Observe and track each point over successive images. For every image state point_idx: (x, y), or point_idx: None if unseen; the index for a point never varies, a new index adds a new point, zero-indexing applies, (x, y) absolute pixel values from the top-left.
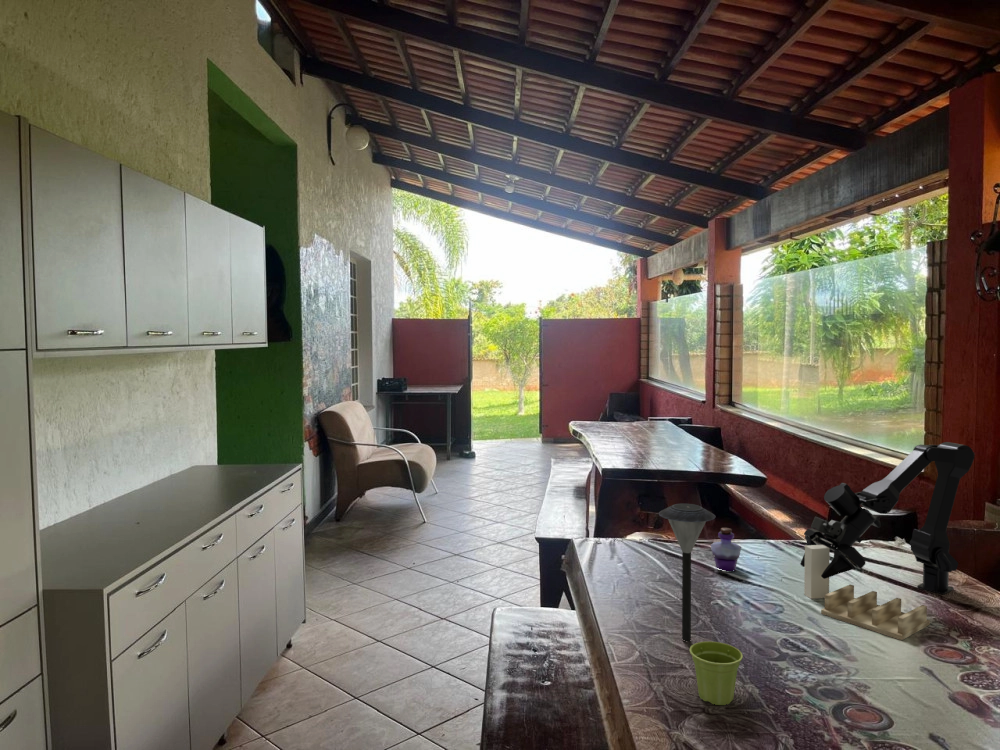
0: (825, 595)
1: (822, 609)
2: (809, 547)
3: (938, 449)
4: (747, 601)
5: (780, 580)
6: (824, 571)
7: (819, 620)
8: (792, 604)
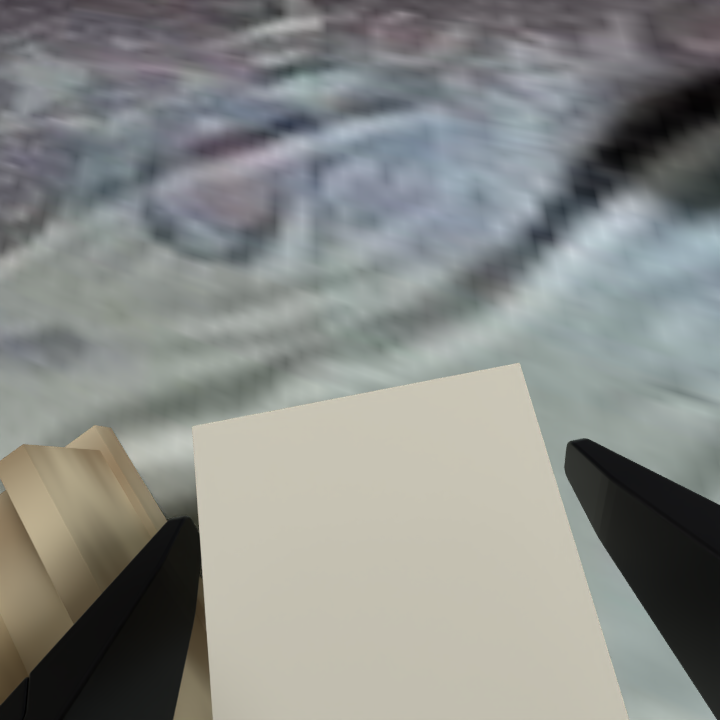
0: (21, 448)
1: (95, 434)
2: (332, 423)
3: None
4: (298, 126)
5: (671, 385)
6: (144, 562)
7: (30, 381)
8: (253, 320)
